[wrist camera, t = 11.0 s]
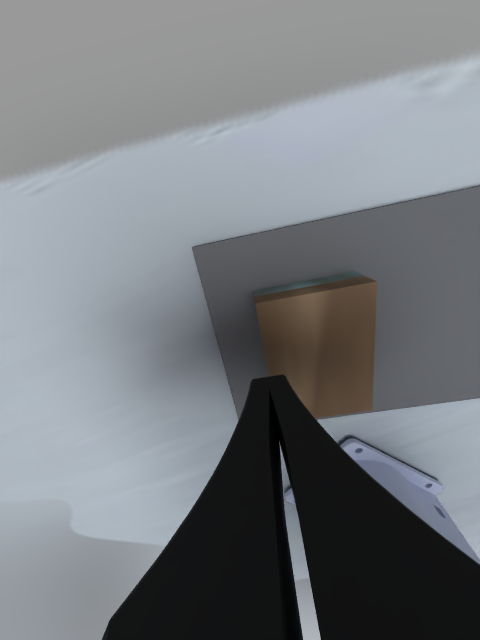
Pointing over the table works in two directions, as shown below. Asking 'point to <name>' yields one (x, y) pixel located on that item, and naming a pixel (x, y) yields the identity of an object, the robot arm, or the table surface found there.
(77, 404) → the table surface
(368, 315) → the tile
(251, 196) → the table surface
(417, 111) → the table surface
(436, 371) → the mat
